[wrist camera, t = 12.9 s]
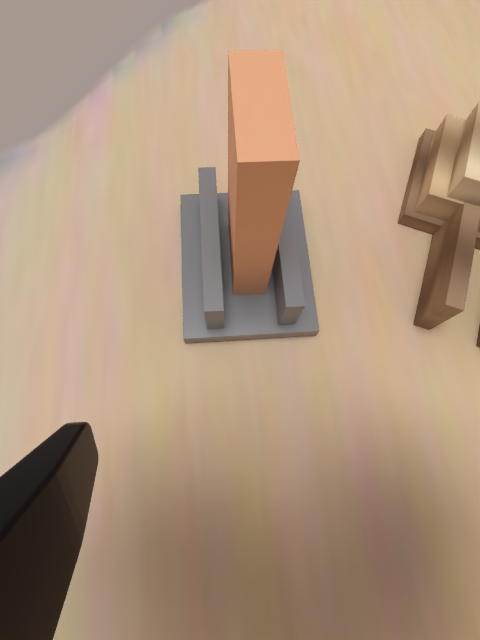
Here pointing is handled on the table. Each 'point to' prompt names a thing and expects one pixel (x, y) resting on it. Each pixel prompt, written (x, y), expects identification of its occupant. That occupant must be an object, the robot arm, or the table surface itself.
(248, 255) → the tall peach slab
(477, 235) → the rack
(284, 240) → the holder
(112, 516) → the table surface
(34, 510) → the robot arm
